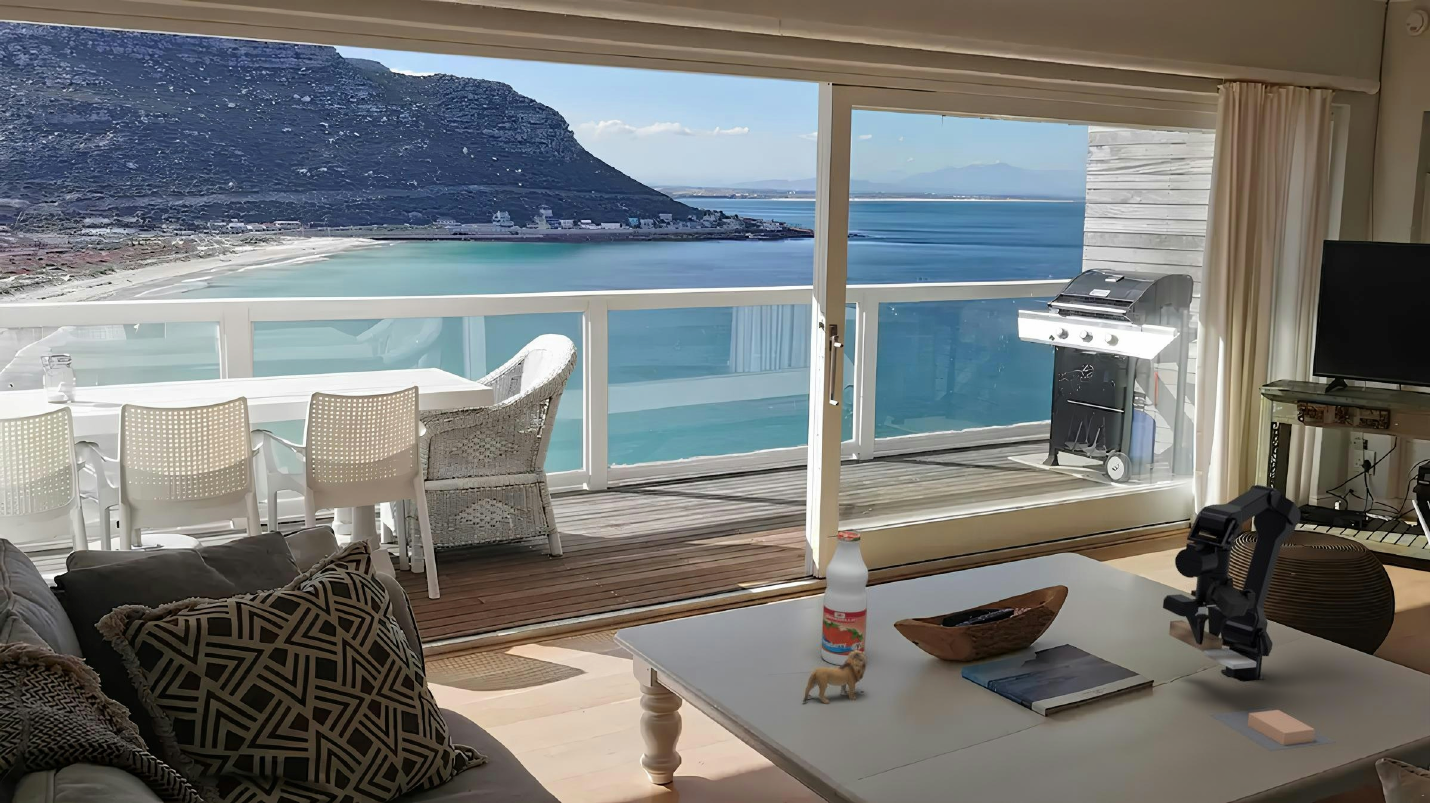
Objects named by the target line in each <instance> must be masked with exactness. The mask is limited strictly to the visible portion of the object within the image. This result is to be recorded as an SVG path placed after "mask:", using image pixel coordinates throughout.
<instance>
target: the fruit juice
mask: <svg viewBox="0 0 1430 803" xmlns="http://www.w3.org/2000/svg"><path fill="white" fill-rule="evenodd" d="M836 539H837V540H836V541H838V544H837V546H836V549H835V551H834V553H833V556H832V558H831V560H830V561H829V563H828V564H827V566H826V569H825V579H826V582H827V583H826V584H827V586H826V588H825V590H824V595H823V607H822V608H823V610H822V626H821V628H822V629H821V650H820V651H821V658H822V659H823V660H824V661H826V662H827V663H830V664H833V665H837V666H842V665H843V664H844V663H845V661H846V660H847V659H848V657H849V656H848V654H849V653H851V652H853V651H855V650H858V651H862V652H863V653H865V652H866V650H865V649H866V638H867V637H866V635H867V634H866V633H867V618H868V617H867V616H868V614H867V613H868V612H867V611H868V593H867V590H866V586H867V583H868V580H869V570H868V568H867V565H866V563H865V562H864V559H863V556H862V552H861V548H860V542H861V533H859V532H856V531H850V530H843V531H839V532H837V536H836ZM865 654H866V653H865Z"/></svg>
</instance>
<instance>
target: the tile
mask: <svg viewBox="0 0 1430 803" xmlns="http://www.w3.org/2000/svg"><path fill="white" fill-rule="evenodd" d="M1248 726H1250V727H1252V728H1254V729H1255V730H1257V731H1259V732H1261V733H1262V734H1264V735H1266V736H1268V737H1269V738H1271V739H1273V740H1275V741H1276V742H1278V743H1280V744H1282V745H1290V744H1298V743H1306V742H1313V741H1314V732H1316V729H1315V728H1313V727H1311V726H1310V725H1307V724H1306V723H1304V722H1302V721H1300V720H1298V719H1297V718H1295V717H1292V716H1290V715H1289V714H1287V713H1285V712H1283V711H1281V710H1280V709H1274V710H1273V711H1264V712H1256V713H1249V717H1248Z"/></svg>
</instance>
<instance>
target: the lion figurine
mask: <svg viewBox="0 0 1430 803" xmlns="http://www.w3.org/2000/svg"><path fill="white" fill-rule="evenodd" d="M848 656H849V657H848V659H847V660H846V661H845V663H844V664H843V665H840V666H838V667H825V666H820V667H817V668H815V669H814V670H813V671H812V672H811V673H810V676H809V678H808V680H807V685H806V688H805V691H804V698H803V700H802V702H803V703H805V702H807V700H811V699H812V695H811V694H810V692H811V691H812V690H813V689H814V688H815V687H818V690H819V692H818V697H819V699H820V700H821V701H822V703H823V704H827V705H828V704H830V700H829V699H828V698H825V693H826V690H827V688H828V685H831V686H834V687H840V695H842V696H847V695H848V697H849V700H853V701H855V700H857V698H856V696H855V695H854V693H855V689H856V684H857V683H859V682H860V681H861V680H862V679H863V677H864V674H865V672H866V669H867V664H868V660H867V656H866V653H863V652H862V651H858V650H855V651H853V652H851V653H849V654H848ZM847 686H848V691H847Z"/></svg>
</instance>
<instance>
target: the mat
mask: <svg viewBox="0 0 1430 803" xmlns="http://www.w3.org/2000/svg"><path fill="white" fill-rule="evenodd" d="M1273 710H1275V709H1274V708H1273V707H1266V708H1260V709H1259V708H1258V709H1250V710H1241V711H1233V712H1224V713H1223V712H1222V713H1216V714H1209V717H1212V718H1213V719H1215V720H1217V721H1219V722H1220V723H1222V724H1223V725H1225V726H1227V727H1229V728H1230V729H1232V730H1234V731H1236V732H1237V733H1239V734H1240V735H1242V736H1244V737H1246V738H1247V739H1249V740H1251V741H1253V743H1254V742H1255V743H1256V744H1258V745H1260V746H1261V747H1263V748H1264V749H1267V750H1268V751H1270V752H1273V751H1281V750H1289V749H1297V748H1305V747H1310V746H1312V747H1313V746H1318V745H1327V744H1334V743H1336V741H1334V740H1332V739H1330V738H1328V737H1326V736H1324V735H1323V734H1322V733H1319V732H1317V731H1315V732H1314V741H1313V742H1306V743H1298V744H1290V745H1282V744H1280V743H1278V742H1276V741H1275V740H1273V739H1271V738H1269V737H1268V736H1266V735H1264V734H1262V733H1261V732H1259V731H1257V730H1255V729H1254V728H1252V727H1250V726H1248V717H1249V713H1256V712H1264V711H1273Z"/></svg>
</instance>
